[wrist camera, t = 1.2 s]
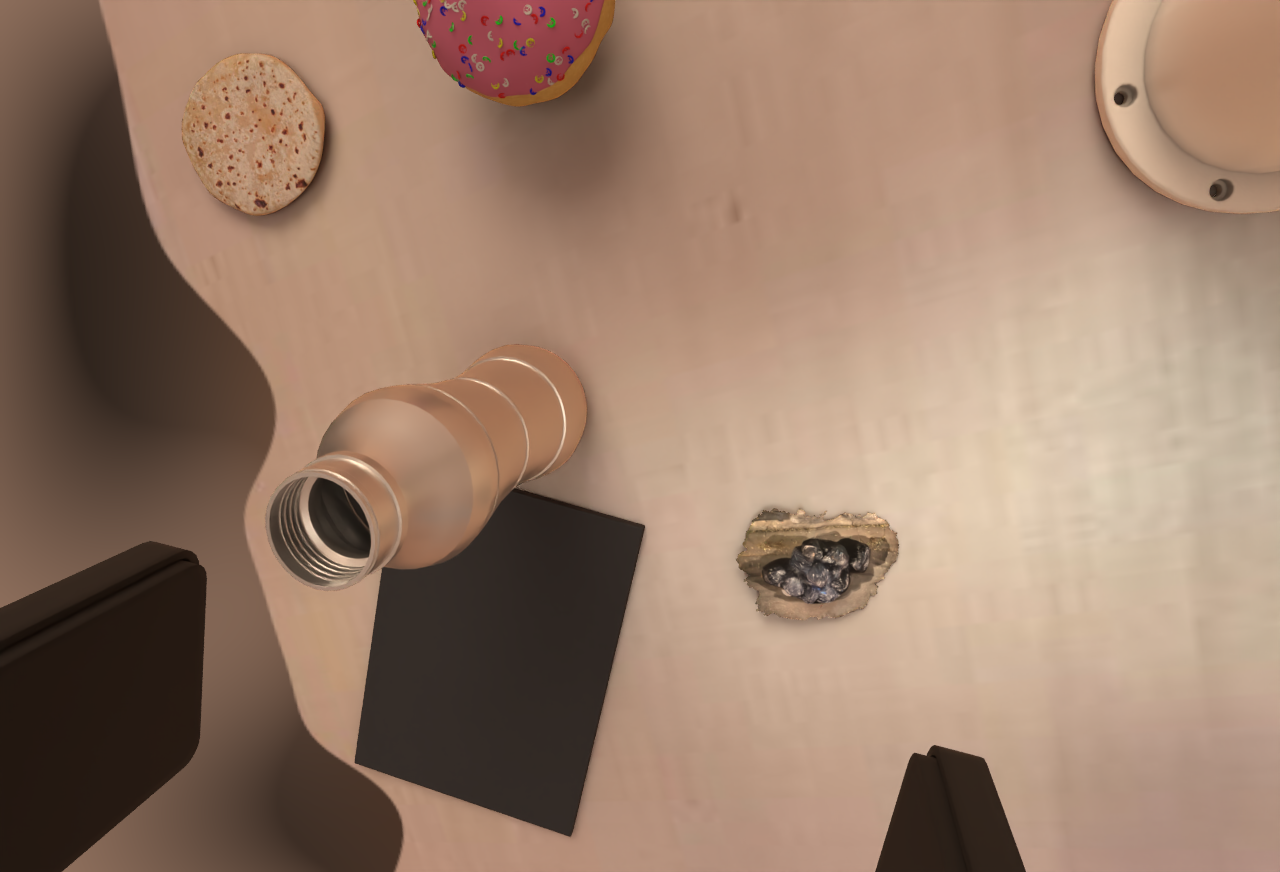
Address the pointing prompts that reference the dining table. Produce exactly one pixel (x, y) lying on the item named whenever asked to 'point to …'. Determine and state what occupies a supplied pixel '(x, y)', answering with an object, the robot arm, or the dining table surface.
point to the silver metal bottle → (424, 467)
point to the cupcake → (515, 44)
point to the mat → (501, 660)
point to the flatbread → (253, 133)
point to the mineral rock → (816, 562)
